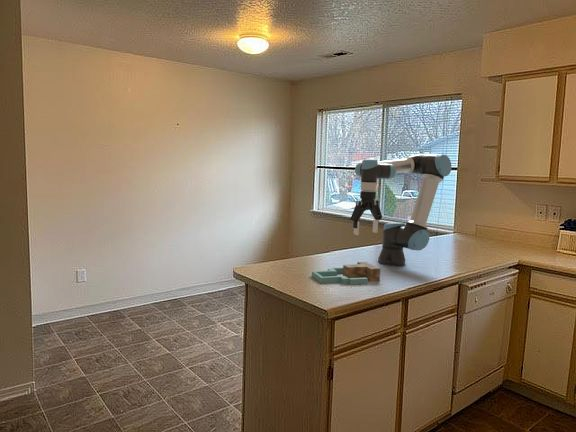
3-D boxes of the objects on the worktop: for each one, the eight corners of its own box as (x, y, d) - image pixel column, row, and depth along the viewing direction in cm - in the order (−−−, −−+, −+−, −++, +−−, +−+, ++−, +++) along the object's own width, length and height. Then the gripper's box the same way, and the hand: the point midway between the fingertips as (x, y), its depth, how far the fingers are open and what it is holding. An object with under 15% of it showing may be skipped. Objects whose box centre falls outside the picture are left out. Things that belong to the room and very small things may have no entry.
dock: (347, 271, 220) (347, 267, 220) (367, 283, 200) (367, 278, 200) (308, 273, 213) (308, 268, 213) (324, 286, 194) (325, 280, 193)
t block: (365, 273, 219) (366, 261, 219) (379, 280, 206) (380, 268, 206) (338, 274, 215) (339, 262, 214) (351, 282, 202) (352, 269, 201)
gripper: (379, 189, 221) (376, 230, 224) (344, 190, 206) (342, 234, 209) (390, 190, 215) (388, 232, 218) (355, 192, 200) (353, 237, 203)
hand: (365, 233), depth 213 cm, fingers open, 13 cm apart
